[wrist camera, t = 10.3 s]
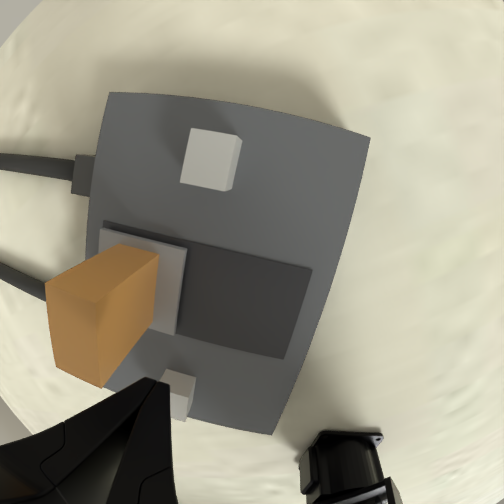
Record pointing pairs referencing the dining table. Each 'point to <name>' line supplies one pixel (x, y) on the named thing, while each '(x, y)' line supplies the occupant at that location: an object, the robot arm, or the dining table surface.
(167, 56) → the dining table surface
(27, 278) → the twin dark prongs
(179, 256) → the breaker handle
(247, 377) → the panel
